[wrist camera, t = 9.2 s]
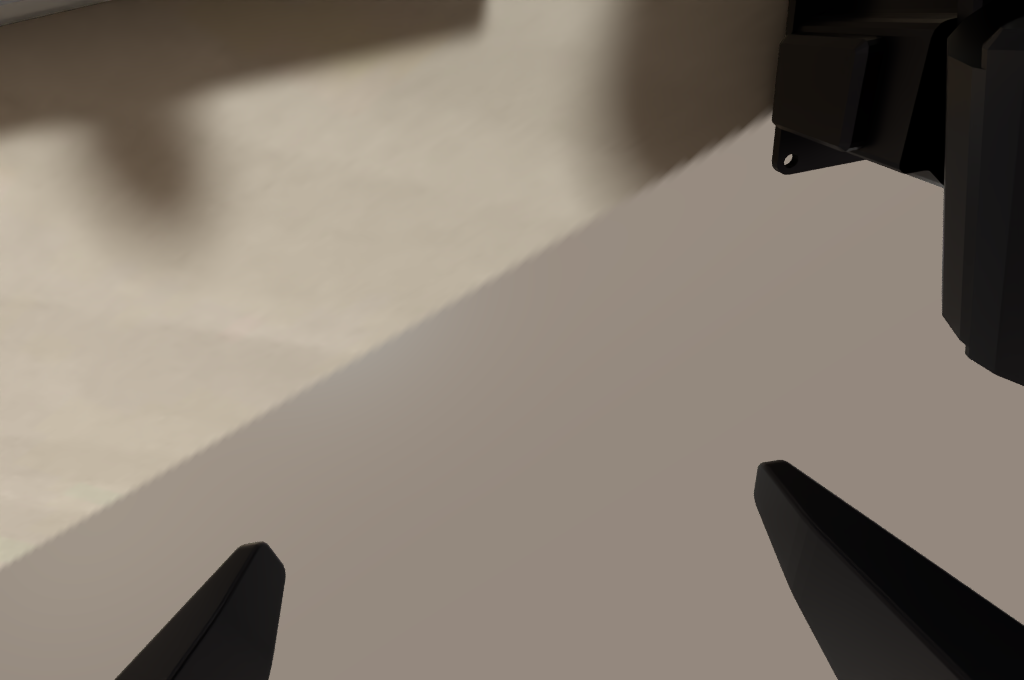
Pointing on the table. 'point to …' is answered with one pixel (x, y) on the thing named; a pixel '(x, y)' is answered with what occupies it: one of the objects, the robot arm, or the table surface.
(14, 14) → the tray
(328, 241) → the table surface
